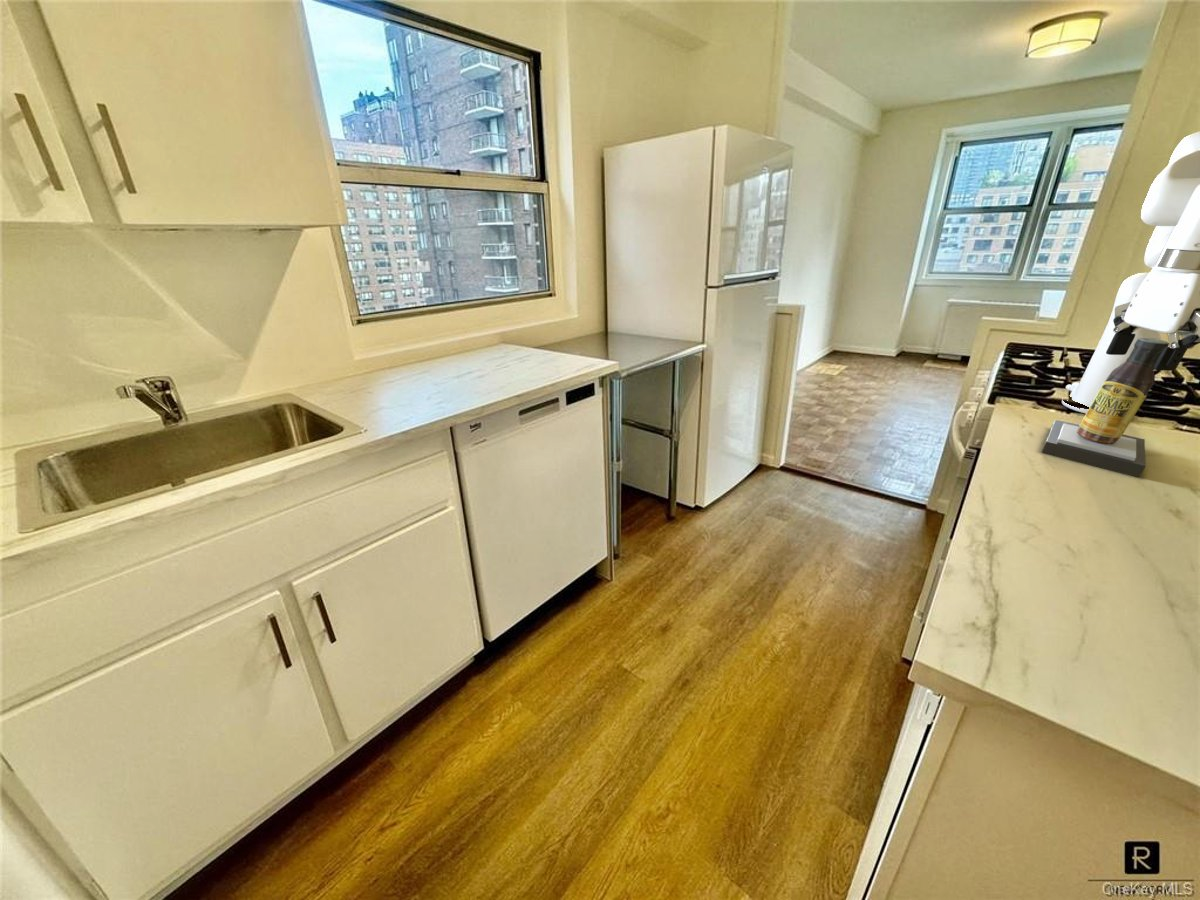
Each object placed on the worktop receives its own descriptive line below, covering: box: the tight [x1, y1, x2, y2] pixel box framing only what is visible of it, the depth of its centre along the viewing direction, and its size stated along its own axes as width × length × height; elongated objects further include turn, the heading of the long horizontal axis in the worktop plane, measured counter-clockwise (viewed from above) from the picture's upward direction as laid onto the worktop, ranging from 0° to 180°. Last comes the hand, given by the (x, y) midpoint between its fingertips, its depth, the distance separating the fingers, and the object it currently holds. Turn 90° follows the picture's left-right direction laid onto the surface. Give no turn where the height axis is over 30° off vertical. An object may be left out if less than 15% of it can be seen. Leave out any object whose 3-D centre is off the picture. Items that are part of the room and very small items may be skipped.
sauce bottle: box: [1077, 338, 1170, 444], centre depth 91 cm, size 6×6×20 cm
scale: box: [1041, 419, 1146, 478], centre depth 97 cm, size 16×14×3 cm
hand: (1138, 361), depth 88 cm, fingers open, 9 cm apart
